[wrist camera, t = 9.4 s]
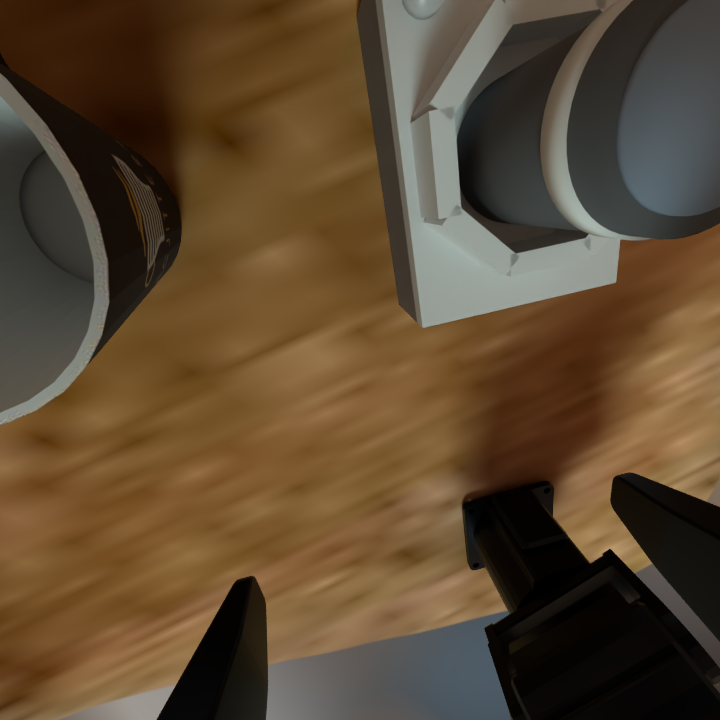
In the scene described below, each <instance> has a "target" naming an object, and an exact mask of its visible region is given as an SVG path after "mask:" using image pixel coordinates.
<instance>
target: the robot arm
mask: <svg viewBox="0 0 720 720" xmlns="http://www.w3.org/2000/svg"><path fill="white" fill-rule="evenodd" d="M553 496H554V488H553V486H552V485H551V484H550V483H549V482H548V481H543V482H539V483H535V484H532V485H528V486H524V487H521V488H517V489H513V490H509V491H506V492H502V493H498V494H495V495H491V496H487V497H484V498H480V499H476V500H472V501H469V502H466V503H465V504H464V505H463V507H462V511H463V521H464V532H465V542H466V552H467V562H468V565H469V567H470V569H472V570H478V569H481V568H485V567H486V569H487V571H488V573H489V575H490V577H491V579H492V581H493V583H494V585H495V587H496V588H497V590H498V592H499V594H500V596H501V598H502V600H503V602H504V604H505V606H506V608H507V610H508V612H509V613H510V614H509V615H508V616H506V617H505V618H503V619H502V620H500V621H498V622H497V623H495V624H490V625H489V626H487V627H485V632H486V635H487V638H488V641H489V644H488V647H489V650H490V653H491V656H492V659H493V662H494V665H495V668H496V671H497V674H498V678H499V681H500V684H501V687H502V690H503V693H504V696H505V699H506V702H507V705H508V708H509V712H510V717H511V720H720V693H719V692H718V691H717V689H716V688H715V687H717V686H719V685H720V668H719V667H718V666H717V664H716V663H715V662H714V661H713V659H712V658H711V657H710V656H709V655H708V653H707V652H706V651H705V650H704V648H703V647H702V646H701V645H700V644H699V642H698V641H697V640H696V639H695V638H694V637H693V636H692V634H691V633H690V632H689V631H688V630H687V629H686V628H685V626H684V625H683V624H682V623H681V622H680V621H679V620H678V619H677V618H676V616H674V614H673V613H672V612H671V611H670V610H669V609H668V608H667V607H666V606H665V605H664V604H663V603H662V601H660V599H659V598H658V597H657V596H656V595H655V594H654V593H653V592H652V591H651V590H650V589H649V588H648V587H647V586H646V585H645V584H644V583H643V582H642V581H641V580H640V579H639V578H638V577H637V576H636V575H635V574H634V573H633V572H632V571H631V570H630V569H629V568H628V567H627V566H626V564H625V563H624V562H623V561H622V560H621V559H620V558H619V557H618V556H617V555H616V554H615V553H614V552H613V551H612V550H611V549H609V550H607V551H606V552H604V553H603V556H602V557H600V558H598V559H597V560H595V561H594V562H592V563H591V564H590V563H589V561H588V560H587V559H586V558H585V556H584V555H583V554H582V553H581V551H580V550H579V549H578V548H577V547H576V545H575V544H574V543H573V542H572V540H571V539H570V538H569V537H568V536H567V534H566V532H565V531H564V530H563V529H562V527H561V526H560V525H559V524H558V522H557V521H556V520H555V519H554V518H553ZM610 501H611V505H612V507H613V509H614V511H615V512H616V514H617V515H618V517H619V518H620V519H621V521H622V522H623V523H624V525H625V526H626V528H627V529H628V530H629V532H630V533H631V534H632V536H633V537H634V539H635V540H636V541H637V543H638V544H639V545H640V547H641V548H642V549H643V551H644V552H645V554H646V555H647V556H648V558H649V559H650V560H651V562H652V563H653V564H654V566H655V567H656V568H657V569H658V571H659V572H660V573H661V574H662V575H663V577H664V578H665V579H666V580H667V581H668V583H669V584H670V585H671V586H672V587H673V588H674V589H675V590H676V592H677V593H678V594H679V595H680V596H681V598H682V599H683V600H684V601H685V602H686V603H687V604H688V605H689V607H690V608H691V609H692V610H693V611H694V613H695V614H696V615H697V616H698V617H699V618H700V619H701V621H702V622H703V623H704V624H705V625H706V626H707V628H708V629H709V630H710V631H711V632H712V633H713V634H714V635H715V637H716V638H717V639H718V640H719V641H720V507H718V506H716V505H713V504H711V503H708V502H706V501H703V500H701V499H698V498H696V497H693V496H691V495H688V494H686V493H683V492H681V491H678V490H675V489H673V488H670V487H668V486H665V485H663V484H660V483H658V482H655V481H653V480H650V479H648V478H645V477H643V476H640V475H638V474H635V473H624V474H621V475H617V476H615V477H614V478H613V482H612V490H611V498H610ZM469 509H470V510H469ZM267 694H268V659H267V621H266V603H265V598H264V596H263V593H262V591H261V589H260V587H259V585H258V582H257V580H256V578H255V577H254V576H249V577H245V578H241V579H238V580H237V581H235V583H234V584H233V586H232V587H231V589H230V591H229V593H228V595H227V596H226V598H225V600H224V602H223V603H222V605H221V607H220V609H219V610H218V612H217V614H216V616H215V617H214V619H213V621H212V623H211V625H210V626H209V628H208V630H207V632H206V633H205V635H204V637H203V639H202V640H201V642H200V644H199V646H198V647H197V649H196V651H195V653H194V655H193V656H192V658H191V660H190V662H189V663H188V665H187V667H186V669H185V670H184V672H183V674H182V676H181V677H180V679H179V681H178V683H177V684H176V686H175V688H174V690H173V692H172V693H171V695H170V697H169V699H168V700H167V702H166V704H165V706H164V708H163V709H162V711H161V713H160V714H159V717H158V718H157V720H266V710H267Z"/></svg>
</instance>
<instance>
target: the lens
mask: <svg viewBox="0 0 720 720" xmlns="http://www.w3.org/2000/svg"><path fill="white" fill-rule="evenodd" d="M457 155H458V170H459V184H460V189H461V191H462V193H463V195H464V197H465V199H466V200H467V201H468V203H469V204H470V206H471V207H472V208H473V209H474V210H475V211H476V212H478V213H479V214H480V215H482V216H484V217H485V218H487V219H489V220H492V221H495V222H501V223H508V224H518V225H528V226H537V227H547V228H557V229H566V230H576V231H583V232H585V233H588V234H591V235H594V236H599V237H605V238H613V239H622V240H648V239H677V238H684V237H688V236H691V235H694V234H698V233H700V232H702V231H705V230H707V229H709V228H711V227H713V226H715V225H717V224H719V223H720V0H619V1H617V2H615V3H614V4H612V5H611V6H610V7H609V8H607V9H606V10H605V11H604V12H602V13H601V14H600V15H599V16H598V17H597V18H596V19H595V20H594V21H593V22H592V23H590V24H588V25H587V26H585V27H583V28H582V29H580V30H578V31H577V32H575V33H573V34H572V35H570V36H568V37H567V38H565V39H563V40H562V41H560V42H558V43H557V44H555V45H553V46H552V47H550V48H548V49H547V50H545V51H543V52H542V53H540V54H538V55H537V56H535V57H533V58H532V59H530V60H528V61H526V62H525V63H523V64H521V65H520V66H518V67H516V68H515V69H513V70H511V71H510V72H508V73H506V74H505V75H503V76H501V77H500V78H498V79H497V80H495V81H493V82H492V83H491V84H489V85H488V86H487V87H486V88H485V89H484V90H483V91H482V92H481V93H480V94H479V95H478V96H477V97H476V99H475V100H474V101H473V103H472V104H471V106H470V107H469V109H468V111H467V112H466V114H465V117H464V119H463V121H462V123H461V126H460V129H459V132H458V136H457Z"/></svg>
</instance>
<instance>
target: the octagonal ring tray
mask: <svg viewBox="0 0 720 720" xmlns="http://www.w3.org/2000/svg"><path fill="white" fill-rule="evenodd" d="M617 1H619V0H362V1H361V4H360V7H359V10H358V13H357V21H358V28H359V35H360V42H361V48H362V55H363V62H364V69H365V76H366V82H367V89H368V96H369V103H370V110H371V116H372V123H373V130H374V137H375V144H376V150H377V157H378V164H379V171H380V178H381V184H382V191H383V198H384V205H385V211H386V218H387V225H388V232H389V239H390V245H391V252H392V259H393V266H394V273H395V279H396V286H397V293H398V300H399V305H400V306H401V307H402V308H403V309H404V310H405V311H406V312H407V313H408V314H409V315H410V316H411V317H412V318H413V319H414V320H415V321H416V322H417V323H418V324H419V325H420V326H421V327H422V328H425V327H429V326H433V325H437V324H442V323H446V322H450V321H455V320H459V319H463V318H467V317H472V316H476V315H480V314H484V313H489V312H493V311H497V310H501V309H506V308H510V307H514V306H519V305H523V304H527V303H531V302H536V301H540V300H544V299H548V298H553V297H557V296H561V295H566V294H570V293H574V292H578V291H583V290H587V289H591V288H595V287H600V286H604V285H608V284H612V283H616V278H617V268H618V258H619V248H620V239H613V238H605V237H599V236H594V235H591V234H588V233H585V232H583V231H576V230H566V229H557V228H547V227H537V226H528V225H518V224H508V223H501V222H495V221H492V220H489V219H487V218H485V217H484V216H482V215H480V214H479V213H478V212H476V211H475V210H474V209H473V208H472V207H471V206H470V204H469V203H468V201H467V200H466V199H465V197H464V195H463V193H462V191H461V189H460V184H459V170H458V155H457V136H458V132H459V129H460V126H461V123H462V121H463V119H464V117H465V114H466V112H467V111H468V109H469V107H470V106H471V104H472V103H473V101H474V100H475V99H476V97H477V96H478V95H479V94H480V93H481V92H482V91H483V90H484V89H485V88H486V87H487V86H488V85H489V84H491V83H492V82H493V81H495V80H497V79H498V78H500V77H501V76H503V75H505V74H506V73H508V72H510V71H511V70H513V69H515V68H516V67H518V66H520V65H521V64H523V63H525V62H526V61H528V60H530V59H532V58H533V57H535V56H537V55H538V54H540V53H542V52H543V51H545V50H547V49H548V48H550V47H552V46H553V45H555V44H557V43H558V42H560V41H562V40H563V39H565V38H567V37H568V36H570V35H572V34H573V33H575V32H577V31H578V30H580V29H582V28H583V27H585V26H587V25H588V24H590V23H592V22H593V21H594V20H595V19H596V18H597V17H598V16H599V15H600V14H601V13H602V12H604V11H605V10H606V9H607V8H609V7H610V6H611V5H612V4H614V3H615V2H617Z"/></svg>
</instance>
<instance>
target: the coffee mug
mask: <svg viewBox="0 0 720 720" xmlns="http://www.w3.org/2000/svg"><path fill="white" fill-rule="evenodd" d="M180 243H181V221H180V214H179V210H178V207H177V204H176V202H175V199H174V196H173V194H172V193H171V191H170V189H169V187H168V185H167V184H166V182H165V181H164V179H163V178H162V177H161V176H160V174H159V173H158V172H157V171H156V169H155V168H154V167H153V166H152V165H151V164H150V163H148V162H147V161H146V160H145V159H144V158H143V157H142V156H141V155H139V154H138V153H136V152H135V151H133V150H132V149H130V148H129V147H127V146H126V145H124V144H122V143H121V142H119V141H118V140H116V139H115V138H113V137H112V136H110V135H109V134H107V133H106V132H104V131H103V130H101V129H100V128H98V127H97V126H95V125H94V124H92V123H91V122H89V121H88V120H86V119H84V118H83V117H81V116H80V115H78V114H77V113H75V112H74V111H72V110H71V109H69V108H68V107H66V106H65V105H63V104H62V103H60V102H59V101H57V100H56V99H54V98H53V97H51V96H49V95H48V94H46V93H45V92H43V91H42V90H40V89H39V88H37V87H36V86H34V85H33V84H31V83H30V82H28V81H27V80H25V79H24V78H22V77H21V76H19V75H18V74H16V73H15V72H13V71H11V70H10V68H9V67H8V65H7V64H6V62H5V61H4V59H3V57H2V55H1V54H0V425H2V424H6V423H8V422H11V421H13V420H15V419H18V418H20V417H22V416H25V415H27V414H29V413H32V412H34V411H36V410H39V409H40V408H41V407H43V406H44V405H46V404H47V403H48V402H50V401H51V400H53V399H54V398H56V397H57V396H58V395H60V394H61V393H63V392H64V391H65V390H66V389H67V388H68V387H69V386H70V385H71V384H72V383H73V381H74V380H75V379H76V378H77V377H78V376H79V374H80V373H81V372H82V371H83V370H84V369H85V368H86V366H87V365H88V364H89V363H90V362H91V361H92V359H93V358H94V357H95V356H96V355H97V353H98V352H99V351H100V350H101V349H102V348H103V346H104V345H105V344H106V343H107V342H108V340H109V339H110V338H111V337H112V336H113V334H114V333H115V332H116V331H117V330H118V329H119V327H120V326H121V325H122V324H123V323H124V321H125V320H126V319H127V318H128V317H129V316H130V314H131V313H132V312H133V311H134V310H135V308H136V307H137V306H138V305H139V304H140V303H141V301H142V300H143V299H144V298H145V297H146V295H147V294H148V293H149V292H150V291H151V289H152V288H153V287H154V286H155V285H156V284H157V282H158V281H159V280H160V279H161V278H162V276H163V275H164V274H165V273H166V272H167V271H168V269H169V268H170V267H171V266H172V264H173V262H174V260H175V258H176V256H177V254H178V250H179V246H180Z"/></svg>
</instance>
